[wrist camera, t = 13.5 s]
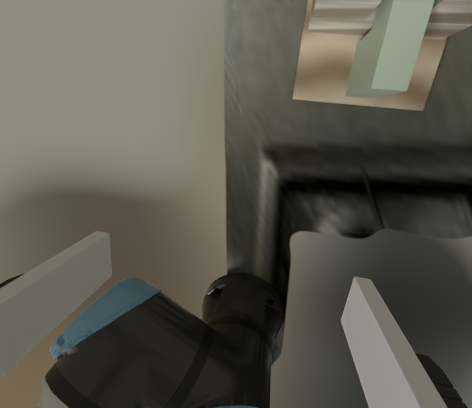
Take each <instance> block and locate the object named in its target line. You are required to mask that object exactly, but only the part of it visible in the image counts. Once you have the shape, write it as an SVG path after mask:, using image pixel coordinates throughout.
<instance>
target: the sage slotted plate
mask: <svg viewBox="0 0 472 408" xmlns="http://www.w3.org/2000/svg"><path fill="white" fill-rule="evenodd" d="M433 4H434V0H382V1H381V2H380V3H379V4H378V5H377V9H376V14H375V18H374V22H373V26H372V30H371V31H370V32H369V33H368V34H367V35H366V36H365V37H364V38H363V39H362V40H360V41H359V42H358V43H357V45H356V50H355V54H354V59H353V63H352V68H351V72H350V76H349V81H348V85H347V90H346V94H345V96H346V97H358V98H375V97H380V96H385V95H390V94H395V93H400V92H405V91H407V89H408V86H409V83H410V79H411V76H412V73H413V70H414V66H415V63H416V60H417V56H418V53H419V50H420V47H421V43H422V40H423V37H424V33H425V30H426V27H427V24H428V20H429V17H430V14H431V10H432V7H433Z"/></svg>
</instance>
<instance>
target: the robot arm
mask: <svg viewBox="0 0 472 408" xmlns="http://www.w3.org/2000/svg"><path fill="white" fill-rule="evenodd" d="M111 276H112V269H111V254H110V239H109V233H104V232H98V231H96V232H94V233H93V234H91V235H89V236H87V237H86V238H84V239H82V240H81V241H79V242H77V243H76V244H74V245H72V246H71V247H69V248H67V249H66V250H64V251H62V252H61V253H59V254H57V255H56V256H54V257H52V258H51V259H49V260H48V261H46V262H44V263H42V264H41V265H39V266H37V267H36V268H34V269H32V270H30V271H29V272H27V273H26V274H21V275H19V276H16V277H14V278H11V279H8V280H6V281H5V282H3V283H1V284H0V378H1V377H2V376H3V375H4V374H5V373H7V372H8V371H9V370H10V369H11V368H12V367H13V366H14V365H15V364H16V363H17V362H18V361H20V360H21V359H22V358H23V357H24V356H25V355H26V354H27V353H28V352H29V351H30V350H32V349H33V347H35V346H36V345H37V344H38V343H39V342H40V341H41V340H42V339H43V338H45V337H46V336H47V335H48V334H49V333H50V332H51V331H52V330H53V329H54V328H55V327H56V326H58V325H59V324H60V323H61V322H62V321H63V320H64V319H65V318H66V317H67V316H68V315H69V314H71V313H72V312H73V311H74V310H75V309H76V308H77V307H78V306H79V305H80V304H81V303H83V302H84V301H85V300H86V299H87V298H88V297H89V296H90V295H91V294H92V293H93V292H95V290H97V289H98V288H99V287H100V286H101V285H102V284H103V283H104V282H105V281H106V280H107V279H108V278H110V277H111ZM161 291H162V290H161V289H157V288H155V287H154V286H152V285H150V284H149V283H147V282H146V281H144V280H142V279H141V278H138V277H128V278H125V279H123V280H121V281H120V282H118V283H117V284H115V285H114V286H112V287H111V288H110V289H109V290H108V291H106V292H105V293H104V294H102V295H101V296H100V297H99V298H98V299H97V300H95V301H94V302H93V303H92V304H91V305H90V306H89V307H88V308H87V309H85V310H84V311H83V312H82V313H81V314H80V315H79V316H78V317H77V318H76V319H75V320H74V321H73V322H72V323H71V324H70V325H69V326H68V327H67V328H66V329H65V330H64V332H63V333H62V334H61V335H60V337H59V338H57V339H56V340H55V341H54V343H53V344H52V346H51V348H50V353H51V354H52V358H54V359H58V360H57V362H56V363H55V364H54V365H53V367H52V368H51V369H50V370H49V371H48V373H47V374H46V375H45V376H44V378H43V380H42V400H41V403H40V405H39V406H38V407H37V408H270V381H271V380H270V378H271V354H272V348H273V345H274V343H275V341H276V339H277V336H278V334H279V332H280V330H281V327H282V323H283V304H282V301H281V298H280V296H279V295H278V293H277V292H276V290H275V289H274V288H273V287H272V286H271V285H270V284H268V283H267V282H265V281H264V280H262V279H260V278H258V277H255V276H252V275H248V274H241V273H236V274H229V275H225V276H222V277H220V278H219V279H217V280H215V281H214V282H213V283H212V284H211V285H210V287H209V288H208V290H207V292H206V295H205V297H204V299H203V304H202V320H201V319H199V318H198V317H196V316H195V315H194V314H192V313H191V312H189V311H188V310H186V309H185V308H183V307H182V306H180V305H179V304H178V303H176V302H175V301H173V300H172V299H171V298H169V297H168V296H166V295H165V294H163V293H162V292H161ZM341 323H342V325H343V329H344V332H345V335H346V338H347V341H348V344H349V347H350V350H351V354H352V357H353V360H354V363H355V366H356V369H357V372H358V375H359V378H360V381H361V384H362V388H363V391H364V393H365V397H366V400H367V403H368V406H369V408H467V406H466V405H465V403H463V402H462V399H461V397H460V396H459V394H458V393H457V391H456V390H455V389H453V385H452V384H451V382H450V381H449V379H448V378H447V376H446V375H445V373H444V372H443V370H442V369H441V368H440V367H439V366H438V365H437V364H435V362H433V361H432V360H431V359H430V358H429V357H428V356H426V355H421V354H417V353H414V351H413V350H412V348H411V346H410V344H409V343H408V341H407V339H406V338H405V336H404V334H403V333H402V331H401V329H400V328H399V326H398V324H397V323H396V321H395V319H394V318H393V316H392V314H391V313H390V311H389V309H388V308H387V306H386V305H385V303H384V301H383V299H382V298H381V296H380V294H379V293H378V291H377V289H376V288H375V286H374V284H373V283H372V281H371V280H370V279H365V278H360V277H354V279H353V283H352V286H351V289H350V292H349V296H348V299H347V302H346V306H345V309H344V312H343V315H342V318H341Z"/></svg>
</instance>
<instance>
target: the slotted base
mask: <svg viewBox="0 0 472 408" xmlns="http://www.w3.org/2000/svg"><path fill="white" fill-rule="evenodd" d="M381 1H382V0H308V1H307V8H306V14H305V20H304V26H303V33H302V39H301V45H300V52H299V58H298V64H297V71H296V77H295V83H294V90H293V96H292V100H300V101H312V102H323V103H334V104H345V105H357V106H368V107H379V108H390V109H401V110H413V111H423V110H424V107H425V104H426V101H427V98H428V95H429V92H430V89H431V86H432V83H433V80H434V77H435V74H436V71H437V68H438V65H439V62H440V59H441V56H442V53H443V50H444V47H445V44H446V41H447V38H448V37H449V36H451V35H453V34H455V33H457V32H459V31H461V30H463V29H465V28H468V27H470V26H472V0H434V4H433V7H432V10H431V14H430V17H429V20H428V24H427V27H426V30H425V33H424V37H423V40H422V43H421V47H420V50H419V53H418V56H417V60H416V63H415V66H414V70H413V73H412V76H411V79H410V83H409V86H408V89H407V91H405V92H400V93H395V94H390V95H385V96H380V97H375V98H358V97H346V96H345V94H346V90H347V85H348V81H349V76H350V72H351V68H352V63H353V59H354V54H355V50H356V45H357V43H358V42H359V41H360V40H362V39H363V38H364V37H365V36H366V35H367V34H368V33H369V32H370V31H371V30H372V26H373V22H374V18H375V14H376V9H377V5H378V4H379V3H380V2H381Z"/></svg>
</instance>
